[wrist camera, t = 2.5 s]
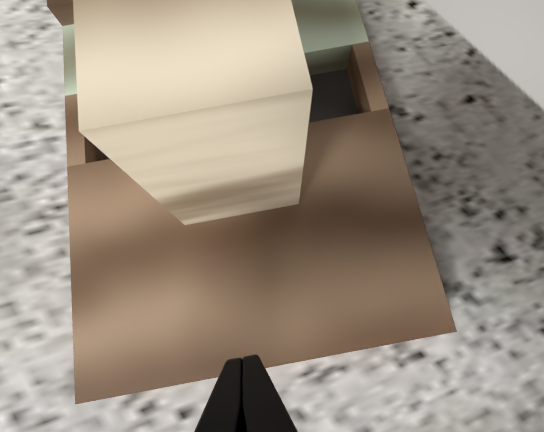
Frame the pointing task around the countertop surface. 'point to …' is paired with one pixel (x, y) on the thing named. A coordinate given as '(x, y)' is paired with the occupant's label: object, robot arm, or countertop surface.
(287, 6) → the birch block
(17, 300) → the countertop surface
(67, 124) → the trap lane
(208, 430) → the robot arm
